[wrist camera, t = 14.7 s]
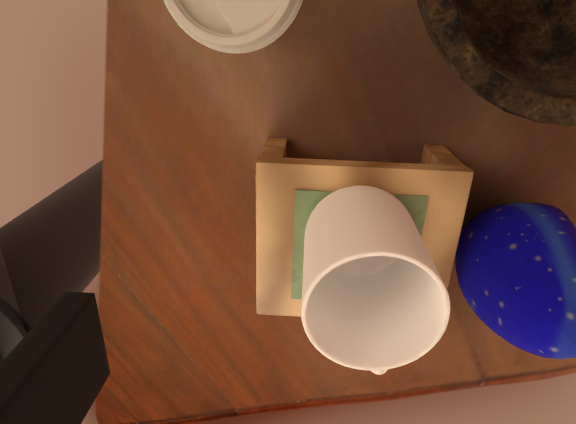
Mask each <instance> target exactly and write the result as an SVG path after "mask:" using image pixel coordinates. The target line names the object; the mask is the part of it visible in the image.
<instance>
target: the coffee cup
mask: <svg viewBox="0 0 576 424" xmlns="http://www.w3.org/2000/svg"><path fill="white" fill-rule="evenodd" d="M302 2H303V0H164V3H165V5H166V7H167V9H168V10H169V12H170V14H171V15H172V17H173V18H174V20H175V21H176V22H177V24H178V25H179V26H180V27H181V28H182V29H183V30H184V31H185V32H186V33H187V34H188V35H189V36H191V37H192V38H193V39H195V40H196V41H198V42H199V43H201V44H203V45H204V46H206V47H209V48H211V49H213V50H216V51H220V52H225V53H234V54H238V53H248V52H252V51H256V50H259V49H261V48H263V47H265V46H267V45H269V44H271V43H272V42H274V41H275V40H276V39H278V38H279V37H280V36H281V35H282V34H283V33H284V32H285V31H286V30H287V29H288V28H289V26H290V25H291V24H292V22H293V21H294V19H295V17H296V16H297V14H298V12H299V9H300V7H301V4H302Z"/></svg>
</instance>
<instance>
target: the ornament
mask: <svg viewBox="0 0 576 424" xmlns="http://www.w3.org/2000/svg"><path fill="white" fill-rule="evenodd" d="M456 272H457V277H458V282H459V285H460V288H461V290H462V293H463V295H464V297H465V298H466V300H467V302H468V304H469V306H470V307H471V308H472V309H473V311H474V312H475V313H476V315H477V316H478V317H479V318H480V319H481V320H482V321H483V322H484V323H485V324H486V325H487V326H488V327H489V328H490V329H492V330H493V331H494V332H495V333H496V334H498V335H499V336H500V337H502V338H503V339H505V340H506V341H508V342H509V343H511V344H512V345H514V346H516V347H518V348H520V349H522V350H525V351H527V352H529V353H532V354H535V355H538V356H541V357H545V358H554V359H566V358H575V357H576V227H575V226H574V225H573V223H572V222H571V221H570V219H569V218H568V216H567V215H565V214H564V213H563V212H562V211H561V210H560V209H558V208H556V207H554V206H551V205H545V204H538V203H509V204H502V205H498V206H495V207H492V208H489V209H487V210H485V211H483V212H481V213H479V214H478V215H477V216H475V217H474V218H473V219H472V220H471V221H469V222H468V224H467V225H466V226H465V228H464V229H463V230H462V232H461V234H460V237H459V241H458V246H457V250H456Z"/></svg>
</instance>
